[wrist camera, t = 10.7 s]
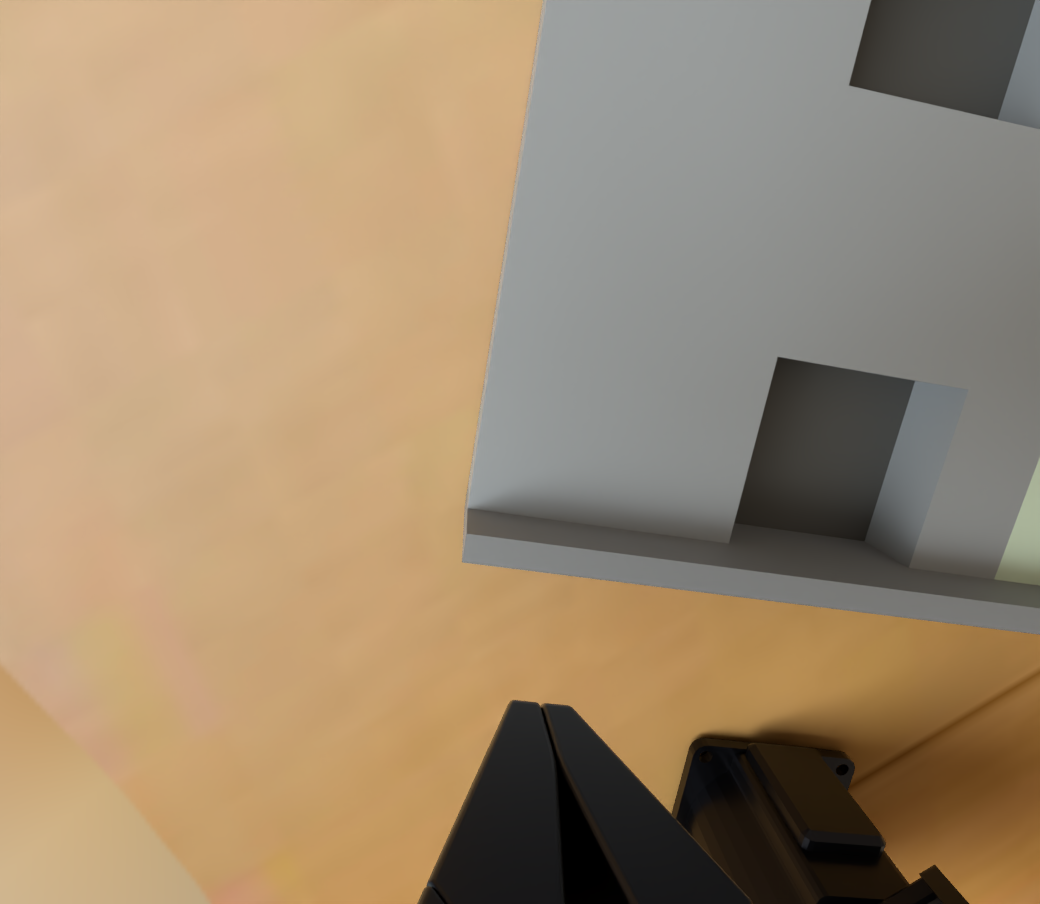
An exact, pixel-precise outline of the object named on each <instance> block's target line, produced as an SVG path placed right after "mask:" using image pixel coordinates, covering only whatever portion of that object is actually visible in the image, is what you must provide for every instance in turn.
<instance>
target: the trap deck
mask: <svg viewBox="0 0 1040 904" xmlns="http://www.w3.org/2000/svg"><path fill="white" fill-rule="evenodd" d="M462 562H464V563H472V564H480V565H488V566H496V567H504V568H512V569H520V570H528V571H536V572H544V573H552V574H560V575H568V576H576V577H584V578H592V579H600V580H608V581H616V582H624V583H632V584H640V585H648V586H656V587H664V588H672V589H680V590H688V591H696V592H704V593H712V594H720V595H728V596H736V597H744V598H752V599H760V600H768V601H776V602H784V603H792V604H800V605H808V606H816V607H824V608H832V609H840V610H848V611H856V612H864V613H872V614H880V615H888V616H896V617H904V618H912V619H920V620H928V621H936V622H944V623H952V624H960V625H968V626H976V627H984V628H992V629H1000V630H1008V631H1016V632H1024V633H1031V634H1039V635H1040V0H543V4H542V11H541V17H540V24H539V30H538V37H537V43H536V50H535V56H534V63H533V69H532V76H531V82H530V88H529V95H528V101H527V108H526V114H525V121H524V127H523V134H522V140H521V147H520V153H519V160H518V166H517V173H516V179H515V185H514V192H513V198H512V205H511V211H510V218H509V224H508V231H507V237H506V244H505V250H504V257H503V263H502V270H501V276H500V282H499V289H498V295H497V302H496V308H495V315H494V321H493V328H492V334H491V341H490V347H489V354H488V360H487V367H486V373H485V380H484V386H483V392H482V399H481V405H480V412H479V418H478V425H477V431H476V438H475V444H474V451H473V457H472V464H471V470H470V477H469V483H468V489H467V496H466V502H465V514H464V534H463V554H462Z"/></svg>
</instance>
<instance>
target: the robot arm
mask: <svg viewBox="0 0 1040 904" xmlns="http://www.w3.org/2000/svg"><path fill="white" fill-rule="evenodd" d="M705 751H707V753H706V754H704V755H700V754H701V753H703V752H705ZM839 765H840V766H839ZM838 766H839V767H838ZM854 769H855V766H854V763H853V762H852V760H851V759H850V758H849V757H848V756H847V755H846V754H845V753H844V752H841V751H833V750H823V749H814V748H807V747H796V746H786V745H776V744H766V743H751V742H740V741H730V740H720V739H709V738H700V739H697V740H695V741H694V742H693V743H692V744H691V746H690V748H689V751H688V755H687V758H686V762H685V766H684V770H683V773H682V777H681V781H680V785H679V788H678V792H677V796H676V800H675V803H674V807H673V811H672V814H671V813H670V812H669V811H668V810H667V809H666V808H665V807H664V806H663V805H662V804H661V803H660V801H659V800H658V799H657V798H656V797H655V796H654V795H653V794H652V793H651V792H650V791H649V790H648V789H647V787H646V786H645V785H644V784H643V783H642V782H641V781H640V780H639V779H638V778H637V777H636V776H635V775H634V773H633V772H632V771H631V770H630V769H629V768H628V767H627V766H626V765H625V764H624V763H623V762H622V761H621V759H620V758H619V757H618V756H617V755H616V754H615V753H614V752H613V751H612V750H611V749H610V748H609V747H608V745H607V744H606V743H605V742H604V741H603V740H602V739H601V738H600V737H599V736H598V735H597V734H596V733H595V731H594V730H593V729H592V728H591V727H590V726H589V725H588V724H587V723H586V722H585V721H584V720H583V719H582V718H581V716H580V715H579V714H578V713H577V712H576V711H575V710H574V709H573V708H572V707H570V706H568V705H558V704H548V703H544V704H542V705H541V707H540V705H539V704H538V703H536V702H528V701H518V700H512V701H510V703H509V704H508V706H507V708H506V711H505V713H504V715H503V717H502V719H501V722H500V724H499V726H498V728H497V730H496V733H495V735H494V737H493V739H492V741H491V744H490V746H489V748H488V750H487V752H486V755H485V757H484V759H483V761H482V763H481V766H480V768H479V770H478V772H477V774H476V777H475V779H474V781H473V783H472V785H471V788H470V790H469V792H468V794H467V797H466V799H465V801H464V803H463V805H462V808H461V810H460V812H459V814H458V816H457V819H456V821H455V823H454V825H453V827H452V830H451V832H450V834H449V836H448V838H447V841H446V843H445V845H444V847H443V849H442V852H441V854H440V856H439V858H438V860H437V863H436V865H435V867H434V869H433V872H432V874H431V876H430V878H429V880H428V883H427V887H426V888H425V889H424V890H423V892H422V895H421V897H420V899H419V901H418V903H417V904H969V903H968V902H967V901H966V900H965V899H964V897H963V896H962V895H961V894H960V893H959V892H958V891H957V889H956V888H955V887H954V886H953V885H952V884H951V883H950V881H949V880H948V879H947V878H946V877H945V876H944V875H943V874H942V872H941V871H940V870H939V869H938V868H937V867H936V866H935V865H933V866H931V867H930V868H928V869H927V870H925V871H923V872H922V873H920V874H919V875H920V876H921V878H920V879H918V880H916V881H915V882H913V883H911V884H909V883H908V882H907V880H906V879H905V878H904V876H903V875H902V874H901V872H900V871H899V870H898V868H897V867H896V866H895V864H894V863H893V862H892V860H891V859H890V858H889V857H888V855H887V854H886V853H885V851H884V848H885V845H886V842H885V840H884V838H883V837H882V835H881V834H880V833H879V831H878V830H877V829H876V827H875V826H874V825H873V823H872V822H871V821H870V820H869V818H868V817H867V816H866V814H865V813H864V812H863V811H862V809H861V808H860V807H859V805H858V804H857V803H856V801H855V800H854V799H853V798H852V796H851V795H850V794H849V792H848V788H849V785H850V782H851V779H852V776H853V773H854Z"/></svg>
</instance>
